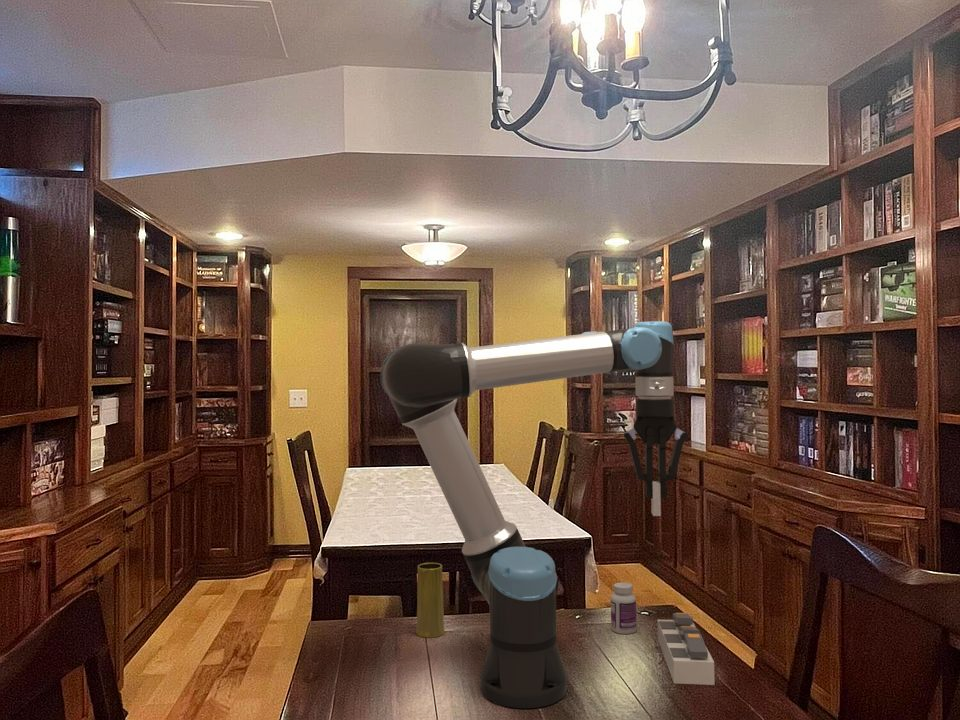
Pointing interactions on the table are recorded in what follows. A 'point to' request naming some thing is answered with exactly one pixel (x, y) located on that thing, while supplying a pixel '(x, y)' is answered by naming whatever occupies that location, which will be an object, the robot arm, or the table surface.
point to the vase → (430, 601)
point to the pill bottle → (623, 609)
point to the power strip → (683, 656)
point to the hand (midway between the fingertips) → (656, 514)
